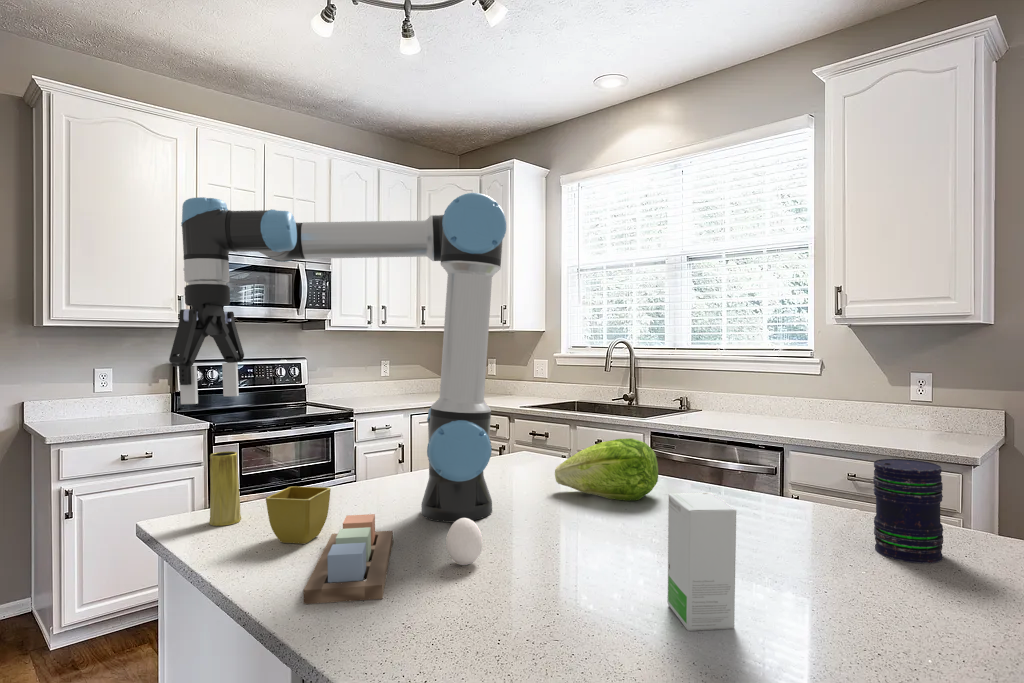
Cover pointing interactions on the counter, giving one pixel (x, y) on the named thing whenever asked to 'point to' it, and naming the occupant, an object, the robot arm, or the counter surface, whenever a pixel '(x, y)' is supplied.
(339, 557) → the key slate
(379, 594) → the board
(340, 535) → the key sage
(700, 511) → the skincare box
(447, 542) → the egg
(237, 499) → the vase
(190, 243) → the robot arm
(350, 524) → the key rust
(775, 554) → the counter surface
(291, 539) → the flower pot
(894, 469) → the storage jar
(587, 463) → the lettuce
